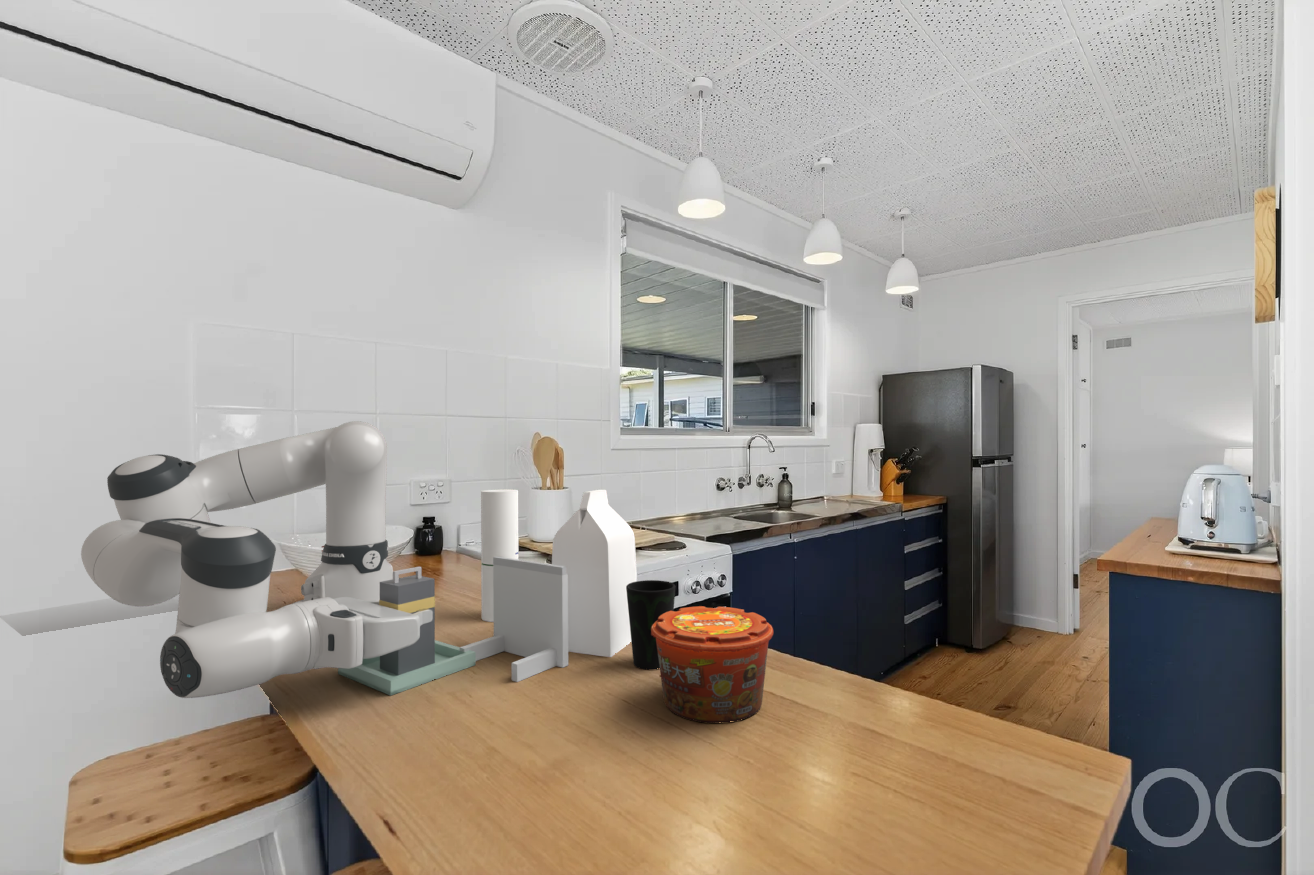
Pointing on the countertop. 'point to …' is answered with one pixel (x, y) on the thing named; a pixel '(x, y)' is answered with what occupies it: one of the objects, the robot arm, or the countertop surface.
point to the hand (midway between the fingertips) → (411, 609)
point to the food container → (712, 662)
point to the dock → (528, 616)
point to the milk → (596, 575)
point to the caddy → (411, 598)
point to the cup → (647, 617)
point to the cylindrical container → (496, 538)
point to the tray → (386, 682)
